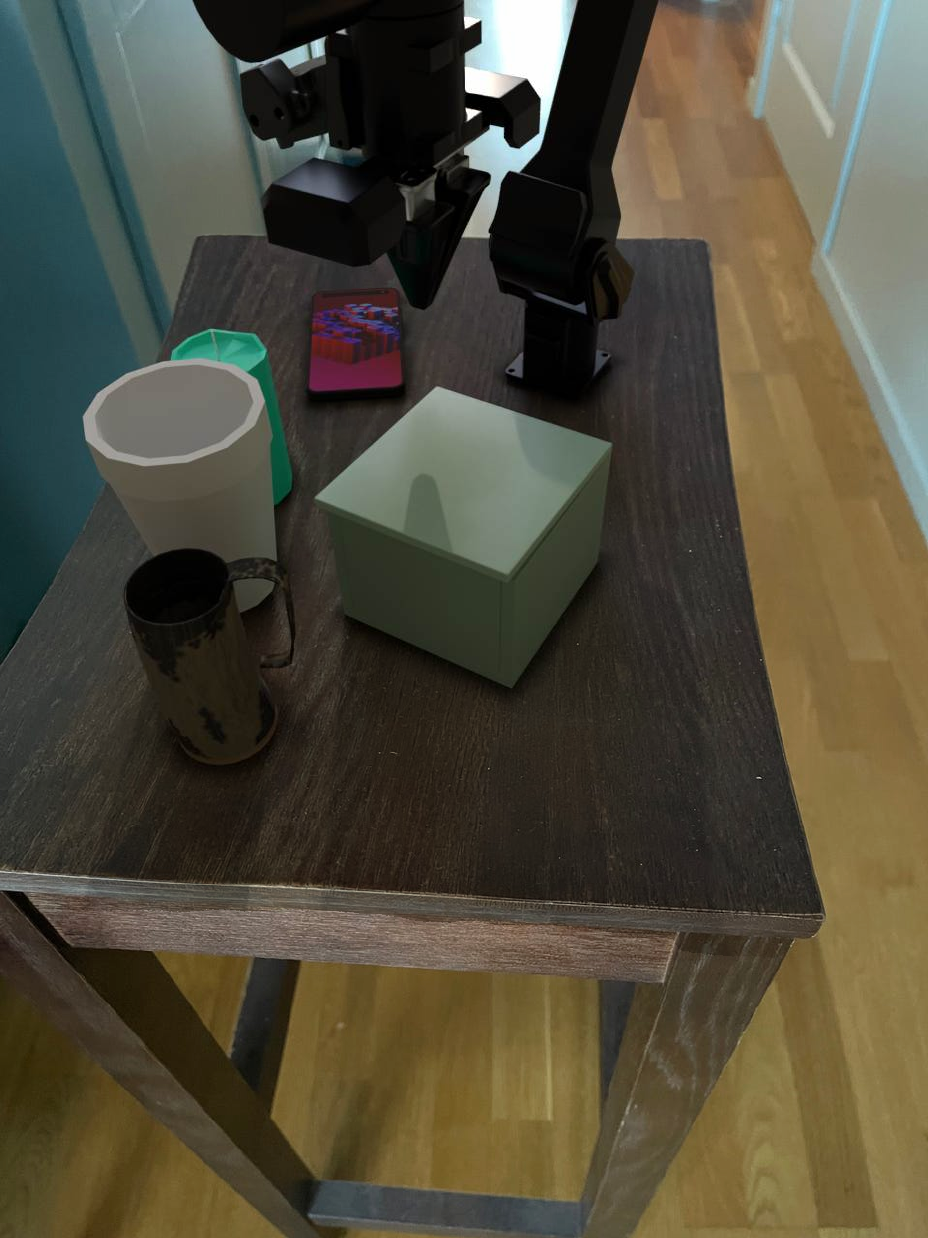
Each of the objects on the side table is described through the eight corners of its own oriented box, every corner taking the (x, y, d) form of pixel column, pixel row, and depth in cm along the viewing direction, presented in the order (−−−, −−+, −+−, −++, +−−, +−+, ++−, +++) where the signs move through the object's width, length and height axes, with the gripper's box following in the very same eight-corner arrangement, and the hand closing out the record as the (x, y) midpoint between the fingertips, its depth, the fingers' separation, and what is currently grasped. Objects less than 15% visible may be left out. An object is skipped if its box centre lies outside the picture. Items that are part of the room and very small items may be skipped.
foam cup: (326, 547, 60) (294, 376, 50) (260, 651, 54) (209, 480, 44) (198, 516, 62) (144, 347, 52) (122, 614, 56) (45, 443, 46)
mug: (166, 767, 49) (94, 619, 40) (182, 685, 52) (119, 532, 43) (315, 760, 49) (277, 610, 40) (320, 678, 53) (286, 524, 44)
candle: (276, 518, 62) (240, 363, 53) (193, 508, 63) (144, 353, 54) (304, 462, 66) (275, 309, 57) (225, 453, 66) (185, 301, 57)
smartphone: (304, 393, 70) (310, 290, 79) (306, 403, 70) (312, 300, 80) (406, 387, 70) (399, 285, 80) (407, 396, 71) (400, 295, 80)
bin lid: (507, 584, 44) (508, 575, 44) (314, 506, 48) (313, 497, 48) (611, 451, 52) (612, 443, 51) (436, 394, 56) (436, 385, 55)
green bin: (511, 689, 52) (515, 581, 45) (344, 614, 56) (324, 505, 49) (597, 562, 58) (611, 452, 52) (442, 503, 62) (436, 394, 56)
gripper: (372, -65, 51) (393, 213, 63) (136, 33, 40) (214, 346, 52) (551, -41, 47) (538, 251, 59) (342, 74, 37) (377, 401, 48)
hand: (421, 305), depth 55 cm, fingers closed
